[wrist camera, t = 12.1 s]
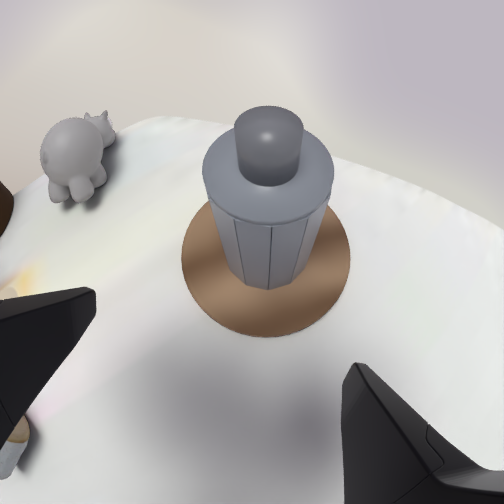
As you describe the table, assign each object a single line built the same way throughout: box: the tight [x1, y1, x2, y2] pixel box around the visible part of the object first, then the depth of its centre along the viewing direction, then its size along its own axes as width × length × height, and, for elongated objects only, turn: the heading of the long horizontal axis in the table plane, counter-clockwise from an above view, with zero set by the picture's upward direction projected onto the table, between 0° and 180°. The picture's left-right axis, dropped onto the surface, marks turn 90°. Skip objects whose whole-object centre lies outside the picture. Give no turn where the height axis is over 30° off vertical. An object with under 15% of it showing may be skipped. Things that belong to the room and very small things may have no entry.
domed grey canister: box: [202, 106, 334, 290], centre depth 18 cm, size 7×7×13 cm
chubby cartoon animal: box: [40, 110, 115, 203], centre depth 26 cm, size 7×12×8 cm, turn 170°
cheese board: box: [181, 201, 350, 337], centre depth 24 cm, size 14×14×4 cm
